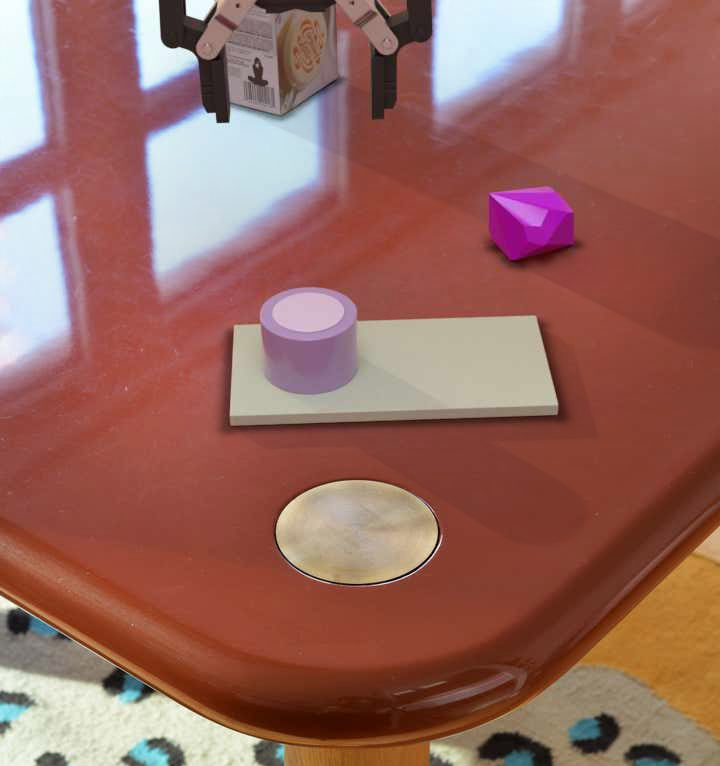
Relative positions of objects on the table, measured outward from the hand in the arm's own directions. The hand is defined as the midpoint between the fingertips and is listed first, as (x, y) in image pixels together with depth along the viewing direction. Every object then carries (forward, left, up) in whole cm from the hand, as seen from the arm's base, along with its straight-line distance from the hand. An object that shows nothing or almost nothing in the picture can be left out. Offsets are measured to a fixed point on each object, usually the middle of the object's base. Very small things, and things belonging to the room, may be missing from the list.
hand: (301, 115), depth 75 cm
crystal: (-16, -14, -17) cm, 28 cm away
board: (-5, +1, -17) cm, 18 cm away
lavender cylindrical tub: (0, +1, -16) cm, 16 cm away
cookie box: (+2, -42, -17) cm, 46 cm away
